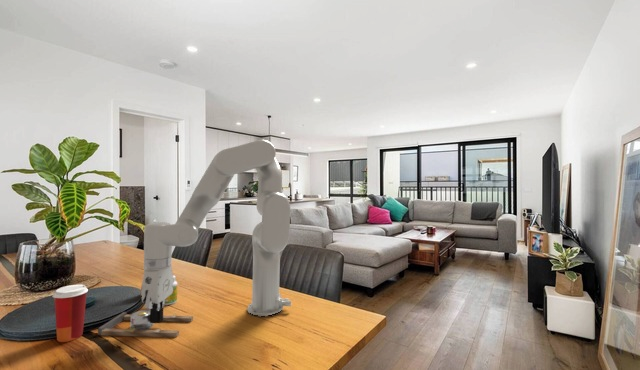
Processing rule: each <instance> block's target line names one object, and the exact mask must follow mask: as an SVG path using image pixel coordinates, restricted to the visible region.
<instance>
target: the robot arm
mask: <svg viewBox="0 0 640 370" xmlns="http://www.w3.org/2000/svg"><path fill="white" fill-rule="evenodd" d="M276 152H277V150H276V147H275V146H274V144H273V143H272V142H271V141H269V140H266V139H258V140H254V141H251V142H247V143H244V144H240V145H236V146H233V147H229V148H225V149H221V150H220V151H219V152H218V153H216V154H215V155H214V157H213V158H212V160H211V161H210V163H209V165H208V167H207V168H206V170H205V171H204V174H203V176H202V177H201V179H200V180H199V182H198V184H197V185H196V187H195V188H194V190H193V192H192V194H191V196H190V199H189V200H188V201H187V204H186V205H185V206H184V208H183V209H182V211H181V214H180V215H179V216H178V218H177V220H176V222H175V223H174V224H171V223H169V222H163V221H162V222H159V221H158V222H150V223H147V224H146V225H145V226H144V233H143V270H144V271H143V276H142V281H143V282H142V283H141V286H142V297H141V302H142V303H143V304H144V310H149V311H150V323H153V324H160V323H162V322H164V321H163V315H164V307H165V305H164V303H165V299H166V298H167V297H168V296H170V295H171V294H172V293H173V275H174V274H173V267H172V249H173V248H172V247H180V248H181V247H182V248H183V247H184V248H185V247H190V246H192V245H193V244H195V243H196V242H197V241H198V238H199V229H200V227H201V225H202V223H203V222H204V220H205V218H206V217H207V215H208V214H209V213H210V211H211V210H212V209H213V208H214V207H215V206H217V204H218V203H219V202H220V201H221V199H222V197H223V196H224V194H225V192H226V190H227V188H228V187H229V185H230V183H231V181H232V179H233V177H234V176H235V175H238V174H241V173H245V172H248V171H252V170H254V169H255V170H256V172H257V179H258V181H257V183H258V185H257V186H258V187H257V197H256V209H257V212H258V214H259V215H261V216H262V217H261V222H259V223H257V224H256V225H255V227H254V228H253V230H252V235H251V239H252V240H251V242H252V243H251V244H252V255H253V256H252V288H251V290H252V293H251V294H252V295H251V296H252V298H251V303H249V305H248V306H247V312H248V313H249V314H250V313H251V314H250V315H252V314H253V315H252V316H254V315H258V316H257V317H261V316H265V317H267V316H266V315H272V314H275V313H278V312H280V311H281V310H282V309H283V310H284V307H291V306H292V300H290V299H289V298H283V297H281V296H282V294H281V293H280V272H281V271H280V270H281V269H280V267H281V256H280V255H281V254H280V252H282V251H283V250H285V248H286V247H287V245H288V241H289V237H290V226H291V204H290V201H289V198H288V197H287V196H286V195H285V194H283V173H282V168H281V165H280V164H279V162H278V160H277V159H276V155H277V153H276ZM283 310H282V311H283ZM282 311H281V312H282ZM281 312H280V313H281ZM278 314H279V313H278ZM272 316H273V315H272Z"/></svg>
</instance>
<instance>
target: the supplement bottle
mask: <svg viewBox="0 0 640 370" xmlns="http://www.w3.org/2000/svg"><path fill="white" fill-rule="evenodd" d="M177 302H178V281H177V280H176V275H174V274H173V293H172V294H171V295H170V296H168V297H167V298H166V299H165V303H164V306H168V305H169V306H170V305H174V304H175V303H177Z"/></svg>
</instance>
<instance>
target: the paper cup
mask: <svg viewBox="0 0 640 370" xmlns="http://www.w3.org/2000/svg"><path fill="white" fill-rule="evenodd" d="M88 291H89V289H88V288H87V286H86V285H85V284H72V285H71V284H70V285H66V286H62V287H59V288H57V289H55V291H54V292H53V293H54V294H53V295H51V296H52V298H53V299H54V311H55V326H56V327H55V328H56V329H55V330H56V341H57V342H59V343H68V342H72V341H75V340H78V339H79V338H81V337H82V336H83V332H84V326H85V325H84V324H85V323H84V322H85V316H86V315H85V313H86V303H87V293H88Z"/></svg>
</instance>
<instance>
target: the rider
mask: <svg viewBox="0 0 640 370" xmlns="http://www.w3.org/2000/svg"><path fill="white" fill-rule="evenodd" d="M130 315H131V320H130V322H129V323H130V325H129V326H130V327H129V328H135V329H139V330H150V329H151V328H152V327H154V323H150V311H149V309H143V310H138V311H135V312H133V313H131V314H130Z"/></svg>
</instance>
